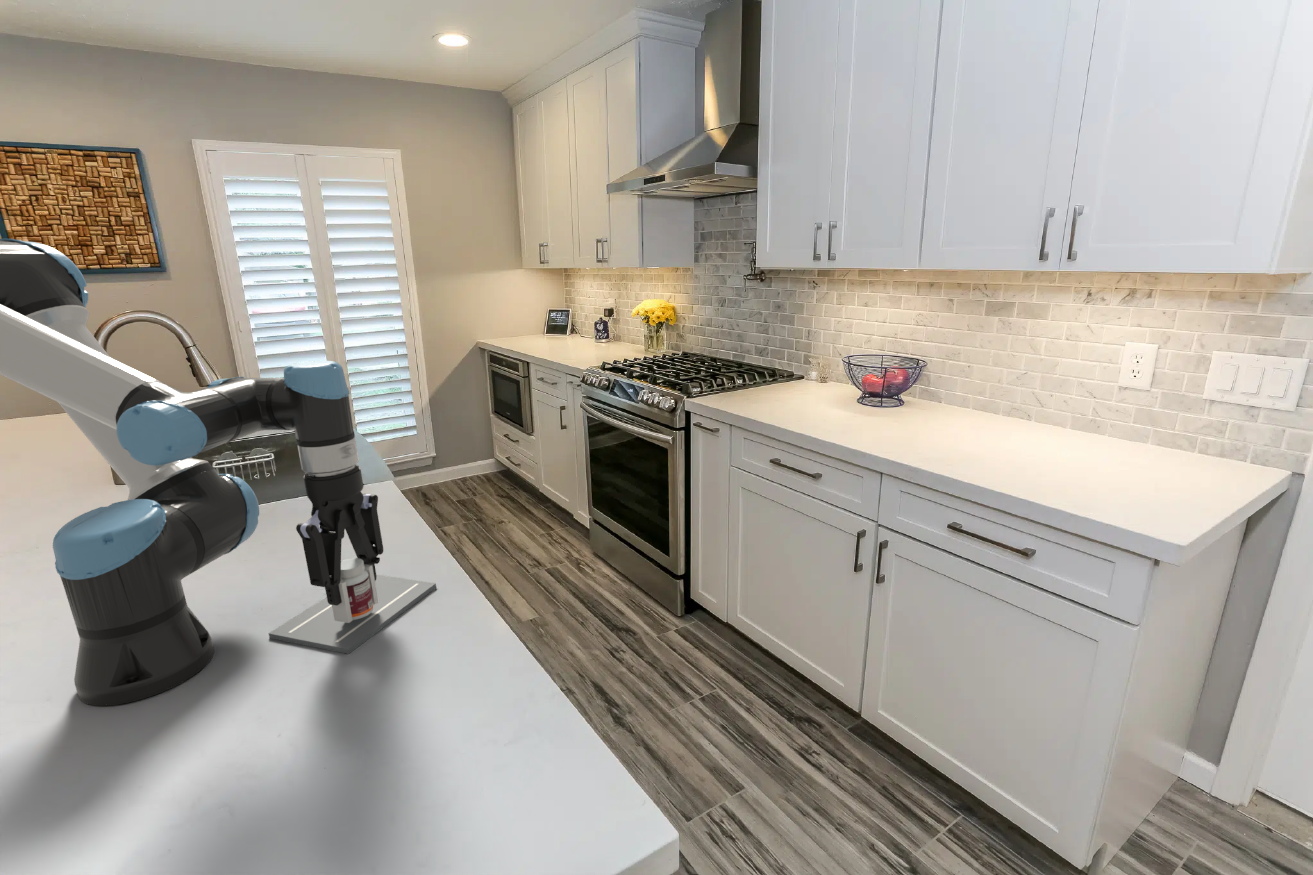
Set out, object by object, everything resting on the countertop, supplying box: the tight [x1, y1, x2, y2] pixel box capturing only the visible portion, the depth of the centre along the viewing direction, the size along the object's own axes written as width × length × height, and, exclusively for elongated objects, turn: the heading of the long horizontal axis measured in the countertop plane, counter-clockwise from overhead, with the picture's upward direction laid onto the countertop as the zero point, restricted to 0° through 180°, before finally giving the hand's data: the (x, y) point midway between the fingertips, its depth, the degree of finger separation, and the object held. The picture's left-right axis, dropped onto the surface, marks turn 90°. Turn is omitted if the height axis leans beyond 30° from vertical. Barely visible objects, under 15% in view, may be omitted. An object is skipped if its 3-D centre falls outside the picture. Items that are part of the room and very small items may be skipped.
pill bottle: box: [341, 557, 374, 620], centre depth 98 cm, size 5×5×8 cm
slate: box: [268, 573, 437, 655], centre depth 103 cm, size 20×15×1 cm
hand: (357, 610), depth 99 cm, fingers closed on pill bottle, 5 cm apart
